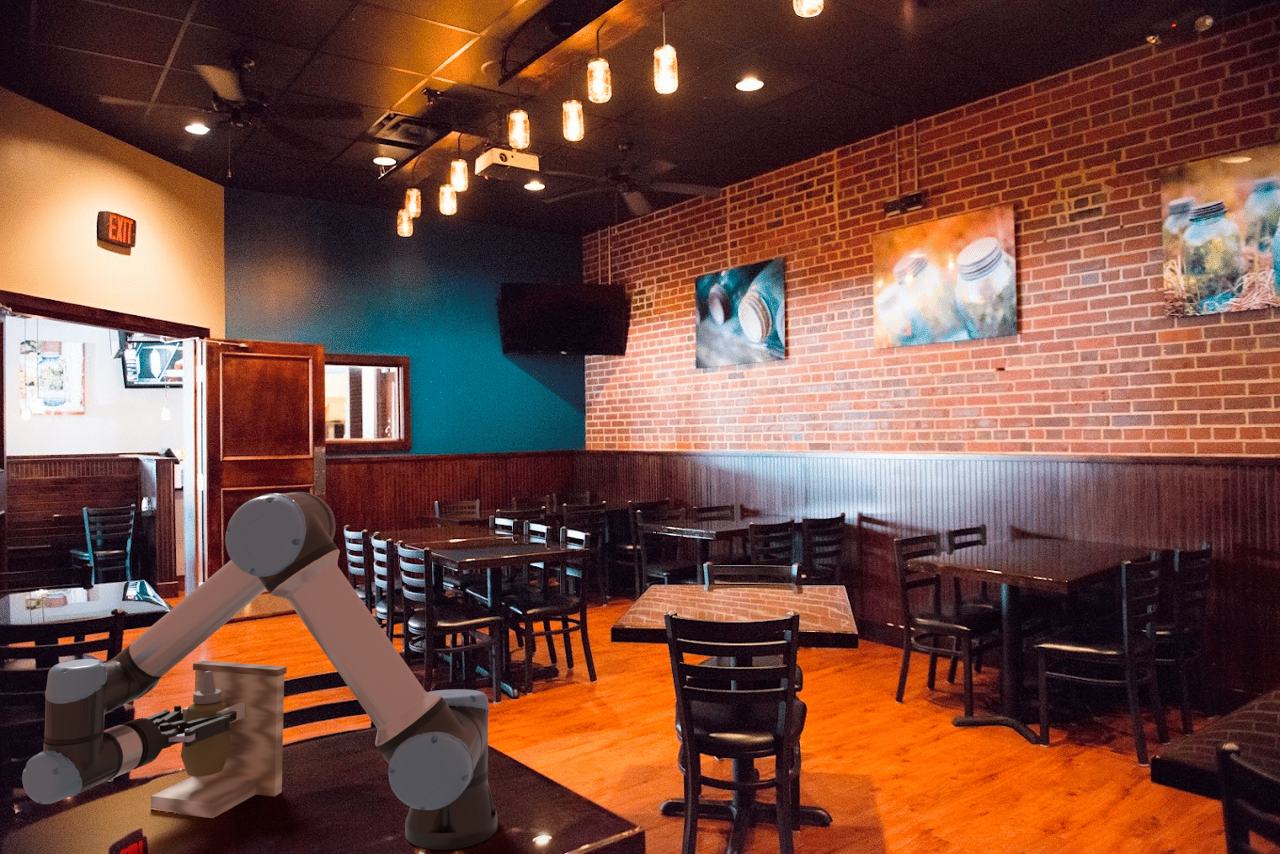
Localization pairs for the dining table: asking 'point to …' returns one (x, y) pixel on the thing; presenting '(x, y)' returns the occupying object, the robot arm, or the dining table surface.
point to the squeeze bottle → (215, 749)
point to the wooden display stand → (237, 743)
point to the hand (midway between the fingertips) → (226, 708)
